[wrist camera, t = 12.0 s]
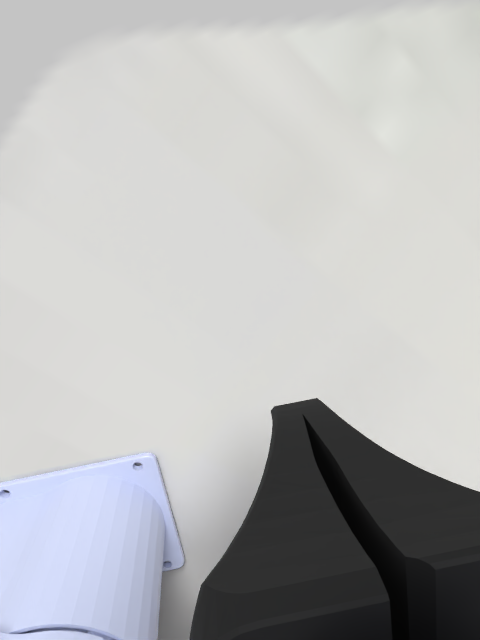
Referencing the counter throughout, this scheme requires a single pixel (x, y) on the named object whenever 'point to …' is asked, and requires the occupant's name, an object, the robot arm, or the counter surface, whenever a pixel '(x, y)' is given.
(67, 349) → the counter surface
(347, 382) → the counter surface
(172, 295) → the counter surface
